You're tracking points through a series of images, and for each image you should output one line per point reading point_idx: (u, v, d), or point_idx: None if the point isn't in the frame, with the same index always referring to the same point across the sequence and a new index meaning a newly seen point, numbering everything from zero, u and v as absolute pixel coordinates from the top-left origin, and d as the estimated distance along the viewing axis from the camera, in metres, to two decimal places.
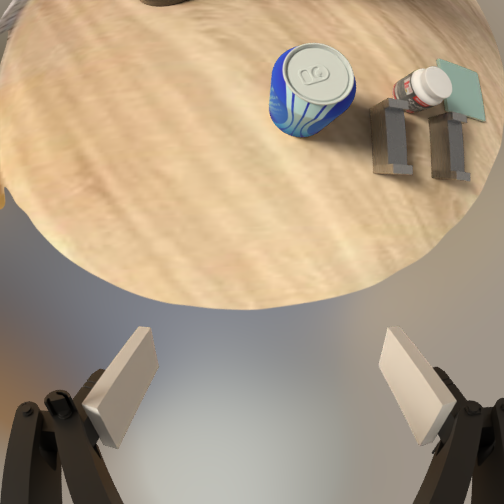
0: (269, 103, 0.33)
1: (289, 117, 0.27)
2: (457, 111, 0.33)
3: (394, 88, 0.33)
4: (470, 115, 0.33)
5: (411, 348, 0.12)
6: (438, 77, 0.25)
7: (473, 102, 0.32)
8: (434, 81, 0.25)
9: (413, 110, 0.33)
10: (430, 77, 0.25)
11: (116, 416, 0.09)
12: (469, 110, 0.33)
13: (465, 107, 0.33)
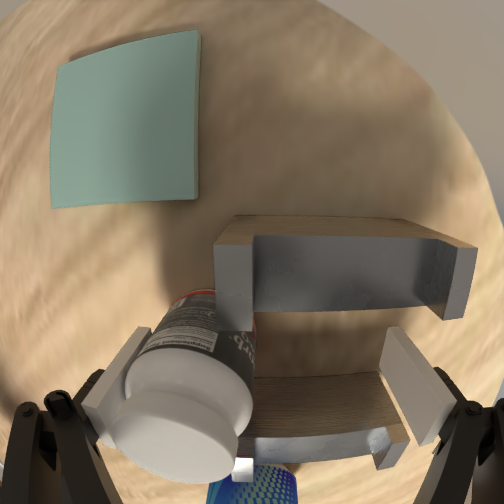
0: None
1: None
2: (189, 155, 0.14)
3: None
4: (191, 94, 0.13)
5: (411, 348, 0.12)
6: (153, 453, 0.08)
7: (143, 79, 0.13)
8: (178, 468, 0.08)
9: None
10: (170, 473, 0.08)
11: None
12: (174, 98, 0.13)
13: (166, 116, 0.13)
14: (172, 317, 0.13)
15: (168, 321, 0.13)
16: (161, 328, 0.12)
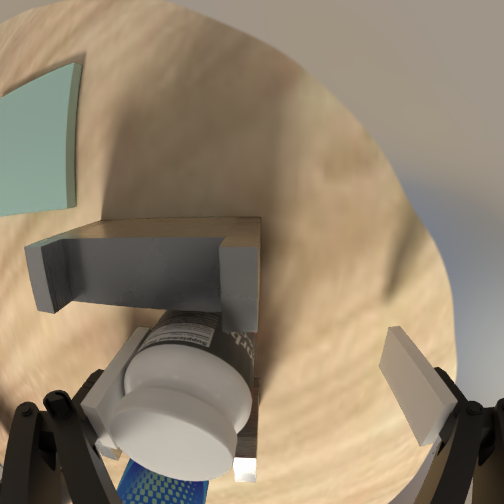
0: None
1: None
2: (63, 173, 0.14)
3: None
4: (65, 121, 0.13)
5: (412, 348, 0.11)
6: (152, 450, 0.08)
7: (38, 111, 0.13)
8: (178, 465, 0.08)
9: None
10: (171, 470, 0.08)
11: None
12: (55, 126, 0.13)
13: (49, 141, 0.14)
14: (170, 315, 0.13)
15: (165, 319, 0.13)
16: (159, 326, 0.12)
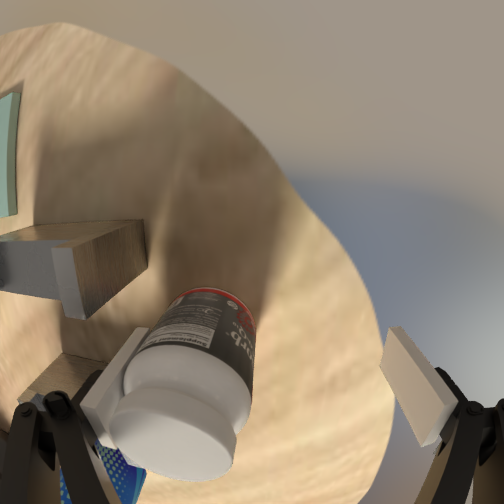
0: None
1: None
2: (5, 186, 0.15)
3: None
4: (6, 143, 0.14)
5: (412, 348, 0.11)
6: (151, 450, 0.08)
7: None
8: (177, 465, 0.08)
9: None
10: (169, 471, 0.08)
11: None
12: (0, 147, 0.14)
13: None
14: (170, 315, 0.13)
15: (165, 319, 0.13)
16: (158, 326, 0.12)
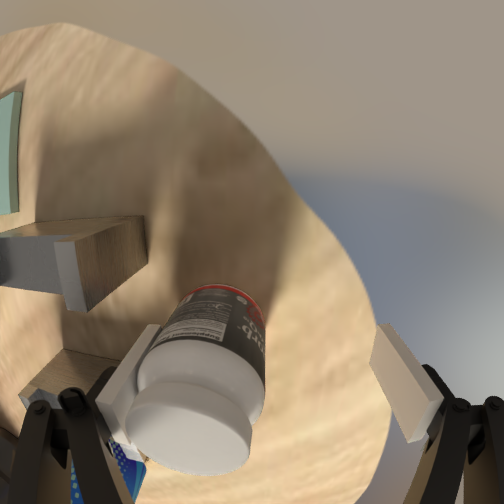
0: None
1: None
2: (7, 184, 0.15)
3: None
4: (8, 142, 0.14)
5: (400, 345, 0.12)
6: (168, 445, 0.08)
7: None
8: (194, 460, 0.08)
9: None
10: (186, 466, 0.08)
11: None
12: (2, 146, 0.14)
13: None
14: (181, 311, 0.13)
15: (177, 316, 0.13)
16: (170, 323, 0.13)
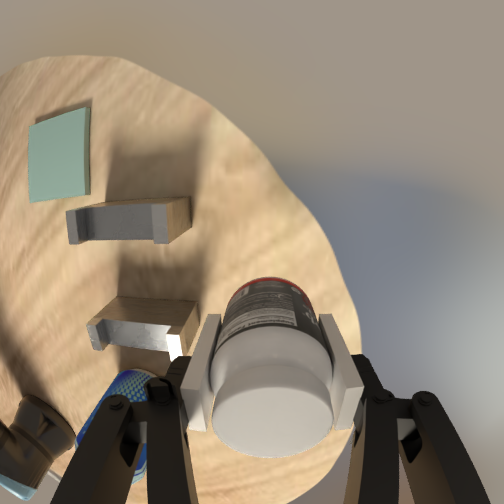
0: None
1: None
2: (82, 174, 0.26)
3: None
4: (82, 144, 0.25)
5: (335, 334, 0.14)
6: (256, 429, 0.09)
7: (64, 136, 0.25)
8: (278, 441, 0.09)
9: None
10: (267, 449, 0.09)
11: (206, 398, 0.11)
12: (76, 146, 0.25)
13: (73, 156, 0.25)
14: (244, 303, 0.15)
15: (242, 307, 0.14)
16: (237, 314, 0.14)
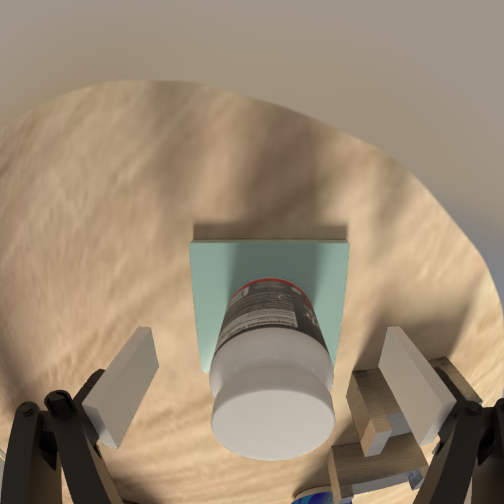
0: None
1: None
2: (334, 347, 0.19)
3: None
4: (340, 305, 0.18)
5: (411, 348, 0.12)
6: (256, 432, 0.09)
7: (300, 287, 0.18)
8: (279, 443, 0.09)
9: None
10: (268, 452, 0.09)
11: (116, 416, 0.09)
12: (327, 308, 0.18)
13: (319, 321, 0.18)
14: (244, 304, 0.14)
15: (241, 308, 0.14)
16: (237, 315, 0.13)
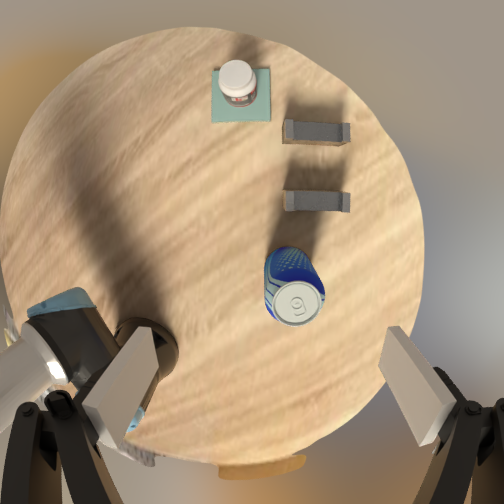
0: None
1: None
2: (268, 108, 0.43)
3: (237, 106, 0.42)
4: (268, 90, 0.43)
5: (411, 348, 0.12)
6: (230, 74, 0.33)
7: None
8: (237, 78, 0.34)
9: None
10: (234, 82, 0.34)
11: (116, 416, 0.09)
12: (263, 90, 0.43)
13: (260, 96, 0.43)
14: None
15: None
16: None
